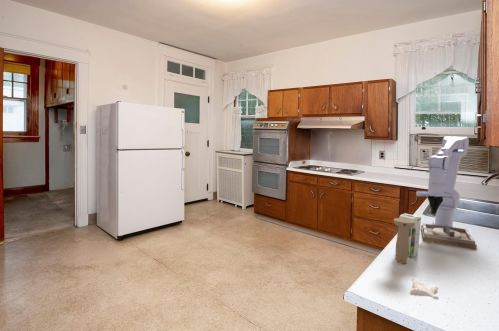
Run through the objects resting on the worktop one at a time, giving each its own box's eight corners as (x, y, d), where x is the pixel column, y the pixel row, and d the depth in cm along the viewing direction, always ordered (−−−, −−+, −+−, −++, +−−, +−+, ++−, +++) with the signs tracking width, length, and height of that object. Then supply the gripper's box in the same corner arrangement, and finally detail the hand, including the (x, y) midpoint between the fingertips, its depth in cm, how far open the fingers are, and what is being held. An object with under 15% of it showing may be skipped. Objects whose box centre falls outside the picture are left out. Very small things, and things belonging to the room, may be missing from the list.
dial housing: (420, 228, 137) (421, 222, 137) (467, 235, 129) (468, 228, 129) (423, 240, 122) (423, 233, 121) (476, 249, 113) (477, 242, 113)
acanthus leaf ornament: (410, 295, 82) (410, 289, 81) (408, 284, 88) (409, 278, 87) (441, 302, 78) (442, 295, 78) (438, 290, 84) (438, 283, 84)
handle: (390, 258, 104) (393, 217, 102) (410, 261, 102) (414, 219, 100) (391, 263, 100) (394, 221, 98) (412, 267, 97) (415, 223, 96)
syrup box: (396, 252, 109) (398, 215, 107) (402, 248, 113) (405, 212, 111) (412, 258, 105) (415, 218, 103) (418, 253, 108) (421, 215, 107)
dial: (429, 228, 131) (430, 222, 131) (455, 231, 128) (456, 224, 128) (437, 237, 121) (438, 230, 120) (466, 240, 118) (466, 233, 117)
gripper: (419, 183, 126) (417, 213, 128) (458, 185, 121) (455, 217, 123) (416, 180, 133) (413, 209, 135) (453, 183, 128) (450, 213, 130)
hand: (433, 213), depth 129 cm, fingers closed
